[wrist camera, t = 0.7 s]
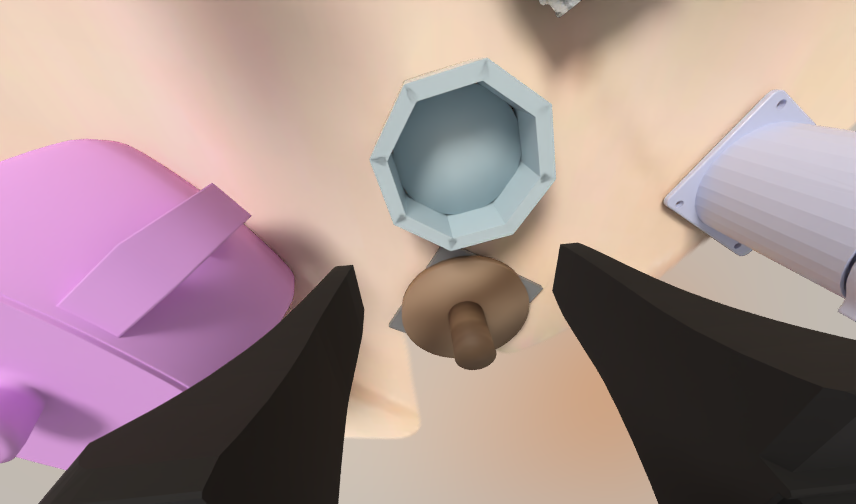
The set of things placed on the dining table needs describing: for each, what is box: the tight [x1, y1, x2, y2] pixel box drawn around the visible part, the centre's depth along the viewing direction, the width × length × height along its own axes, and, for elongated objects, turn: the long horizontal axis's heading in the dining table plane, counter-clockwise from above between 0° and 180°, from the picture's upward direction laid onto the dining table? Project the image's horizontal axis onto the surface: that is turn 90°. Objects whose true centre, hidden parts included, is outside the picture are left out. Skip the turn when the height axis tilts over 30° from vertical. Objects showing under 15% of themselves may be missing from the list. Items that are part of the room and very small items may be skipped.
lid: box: [402, 256, 529, 370], centre depth 23 cm, size 10×10×5 cm
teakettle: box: [0, 139, 294, 470], centre depth 16 cm, size 17×17×12 cm
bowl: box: [370, 58, 556, 251], centre depth 17 cm, size 9×9×4 cm
